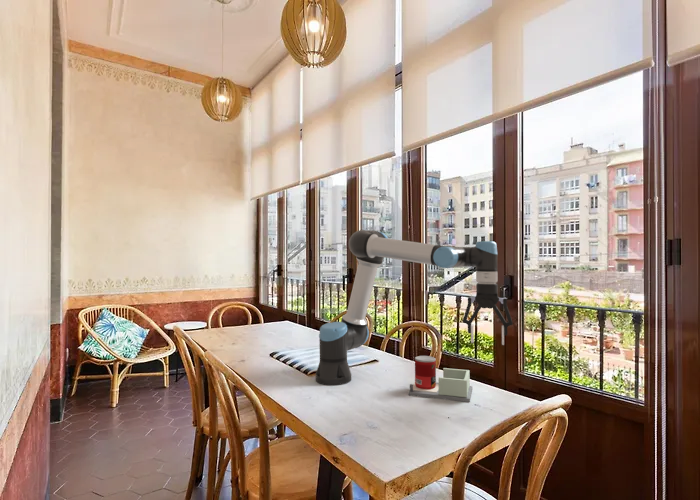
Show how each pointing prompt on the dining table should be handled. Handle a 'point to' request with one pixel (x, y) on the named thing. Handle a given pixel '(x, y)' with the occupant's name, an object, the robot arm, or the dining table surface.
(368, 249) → the robot arm
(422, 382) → the canned food
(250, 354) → the dining table surface
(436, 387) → the base
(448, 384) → the housing
